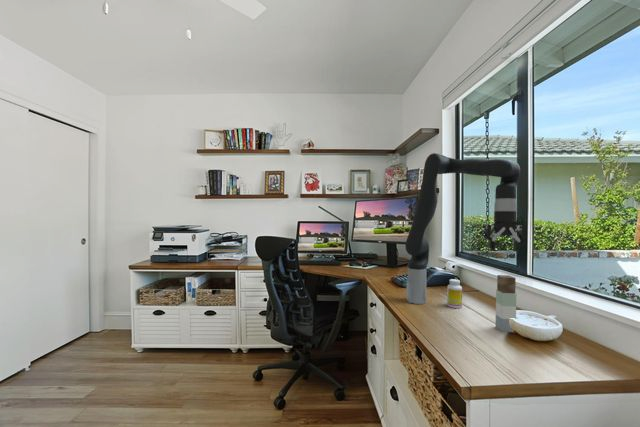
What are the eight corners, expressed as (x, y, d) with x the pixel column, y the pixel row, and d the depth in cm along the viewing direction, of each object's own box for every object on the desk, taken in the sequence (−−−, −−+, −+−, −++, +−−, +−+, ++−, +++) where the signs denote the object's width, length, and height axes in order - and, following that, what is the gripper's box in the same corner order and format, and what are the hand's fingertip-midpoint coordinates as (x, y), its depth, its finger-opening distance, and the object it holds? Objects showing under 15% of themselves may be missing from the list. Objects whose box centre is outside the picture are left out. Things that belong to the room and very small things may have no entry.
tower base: (502, 331, 112) (502, 318, 112) (495, 326, 117) (495, 314, 117) (515, 332, 112) (515, 319, 112) (508, 327, 117) (508, 315, 117)
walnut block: (503, 292, 113) (503, 277, 113) (497, 289, 117) (497, 274, 117) (515, 293, 112) (515, 277, 112) (509, 290, 117) (509, 275, 117)
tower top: (502, 305, 112) (502, 293, 112) (496, 302, 117) (496, 289, 117) (516, 306, 112) (516, 293, 112) (509, 302, 117) (509, 290, 117)
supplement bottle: (463, 309, 139) (464, 282, 138) (448, 308, 140) (449, 281, 140) (459, 304, 145) (460, 279, 145) (445, 303, 146) (446, 278, 146)
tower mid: (502, 318, 112) (502, 305, 112) (495, 314, 117) (496, 302, 117) (516, 319, 112) (516, 306, 112) (508, 315, 117) (509, 302, 117)
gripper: (518, 210, 119) (517, 250, 119) (482, 209, 120) (481, 249, 120) (530, 210, 111) (528, 252, 111) (490, 209, 113) (489, 251, 113)
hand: (504, 250), depth 116 cm, fingers open, 8 cm apart
